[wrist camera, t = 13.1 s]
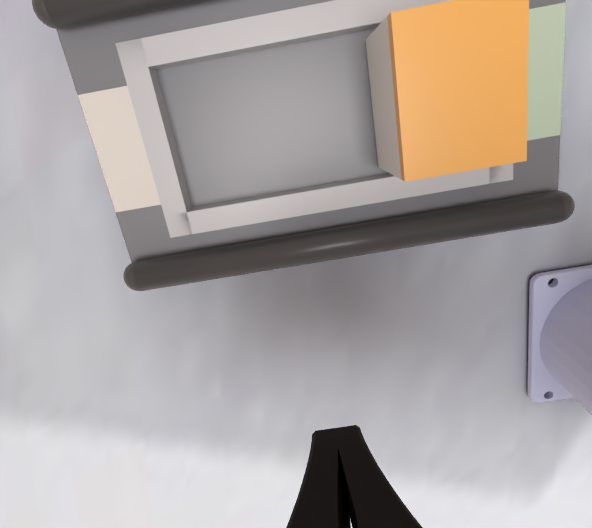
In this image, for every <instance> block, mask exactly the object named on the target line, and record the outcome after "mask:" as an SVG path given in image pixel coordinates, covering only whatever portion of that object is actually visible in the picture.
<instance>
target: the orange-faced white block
mask: <svg viewBox="0 0 592 528" xmlns="http://www.w3.org/2000/svg"><path fill="white" fill-rule="evenodd" d="M528 43H529V0H451V1H446V2H440V3H435V4H430V5H425V6H420V7H415V8H409V9H404V10H399V11H394V12H391V13H390V14H389V15H388V16H387V17H386V18H385V19H384V20H383V21H382V22H381V23H380V25H379V26H378V27H377V28H376V29H375V30H374V31H373V32H372V33H371V34H370V36H369V37H368V38H367V39H366V50H367V60H368V69H369V79H370V89H371V99H372V108H373V118H374V128H375V138H376V147H377V157H378V167H379V168H381V169H383V170H385V171H387V172H388V173H390V174H392V175H394V176H395V177H397V178H399V179H401V180H403V181H404V182H407V181H413V180H419V179H424V178H430V177H436V176H442V175H448V174H453V173H459V172H465V171H471V170H477V169H482V168H488V167H494V166H500V165H506V164H512V163H517V162H523V161H527V109H528Z"/></svg>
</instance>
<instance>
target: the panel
mask: <svg viewBox="0 0 592 528" xmlns="http://www.w3.org/2000/svg"><path fill="white" fill-rule="evenodd" d="M446 1H451V0H32V5H33V9H34V12H35V14H36V15H37V17H38V18H39V19H40V20H41V21H42V22H43V23H44V24H46V25H47V26H49V27H51V28H55V29H57V33H58V36H59V39H60V42H61V45H62V48H63V51H64V54H65V57H66V60H67V63H68V67H69V70H70V73H71V76H72V79H73V82H74V85H75V88H76V91H77V94H78V97H79V101H80V104H81V107H82V110H83V113H84V116H85V119H86V122H87V125H88V128H89V132H90V135H91V138H92V141H93V144H94V147H95V150H96V153H97V156H98V159H99V162H100V166H101V169H102V172H103V175H104V178H105V181H106V184H107V187H108V190H109V193H110V196H111V200H112V203H113V206H114V209H115V212H116V215H117V218H118V221H119V224H120V227H121V231H122V234H123V237H124V240H125V243H126V246H127V249H128V252H129V255H130V258H131V261H132V263H131V264H129V265H128V266H127V268H126V269H125V271H124V281H125V283H126V285H127V286H128V287H129V288H131V289H133V290H136V291H145V290H151V289H157V288H163V287H169V286H175V285H182V284H188V283H194V282H200V281H206V280H212V279H218V278H224V277H230V276H237V275H243V274H249V273H255V272H261V271H267V270H273V269H279V268H285V267H291V266H298V265H304V264H310V263H316V262H322V261H328V260H334V259H340V258H346V257H352V256H359V255H365V254H371V253H377V252H383V251H389V250H395V249H401V248H407V247H414V246H420V245H426V244H432V243H438V242H444V241H450V240H456V239H462V238H468V237H475V236H481V235H487V234H493V233H499V232H505V231H511V230H517V229H523V228H529V227H536V226H542V225H548V224H554V223H559V222H562V221H564V220H566V219H567V218H569V217H570V216H571V214H572V213H573V211H574V201H573V199H572V197H571V196H570V195H569V194H567V193H565V192H562V191H558V173H559V148H560V135H561V112H562V87H563V63H564V39H565V14H566V2H565V1H566V0H529V43H528V109H527V161H523V162H517V163H512V164H506V165H500V166H494V167H488V168H482V169H477V170H471V171H465V172H459V173H453V174H448V175H442V176H436V177H430V178H424V179H419V180H413V181H407V182H404V181H403V180H401V179H399V178H397V177H395V176H394V175H392V174H390V173H388V172H387V171H385V170H383V169H381V168H379V167H378V157H377V147H376V138H375V128H374V118H373V108H372V99H371V89H370V79H369V69H368V60H367V50H366V39H367V38H368V37H369V36H370V34H371V33H372V32H373V31H374V30H375V29H376V28H377V27H378V26H379V25H380V23H381V22H382V21H383V20H384V19H385V18H386V17H387V16H388V15H389V14H390V13H391V12H394V11H399V10H404V9H409V8H415V7H420V6H425V5H430V4H435V3H440V2H446Z"/></svg>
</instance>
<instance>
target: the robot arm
mask: <svg viewBox="0 0 592 528" xmlns="http://www.w3.org/2000/svg"><path fill="white" fill-rule="evenodd" d="M552 278H554V280H553V282H552V283H551V284H549V285H548V281H549V280H550V279H552ZM548 391H549V392H548ZM546 392H548V393H547V394H545V393H546ZM544 394H545V395H544ZM528 397H529V398H530V399H531V400H532V402H534V403H543V402H550V401H557V400H564V399H571V398H575V399H576V400H577V401H578V402H579V403H580V404H581V405H582V406H583V407H585V408H586V409H587V410H588V411H589V412H590V413H591V414H592V265H587V266H581V267H574V268H568V269H562V270H556V271H549V272H543V273H538V274H536V275H534V276H533V277H532V278H531V280H530V291H529V343H528ZM350 519H351V523H352V527H353V528H422V527H421V525H420V524H419V523H418V522H417V520H416V519H415V518H414V517H413V515H412V514H411V513H410V511H409V510H408V509H407V507H406V506H405V505H404V503H403V502H402V501H401V499H400V498H399V497H398V495H397V494H396V492H395V491H394V489H393V488H392V487H391V485H390V484H389V482H388V480H387V479H386V477H385V476H384V474H383V473H382V471H381V469H380V468H379V466H378V465H377V463H376V461H375V459H374V458H373V456H372V454H371V452H370V450H369V448H368V446H367V444H366V442H365V440H364V438H363V435H362V433H361V430H360V428H359V427H358V426H356V425H353V426H347V427H340V428H333V429H326V430H319V431H315V432H314V433H313V434H312V443H311V450H310V455H309V459H308V463H307V468H306V471H305V475H304V478H303V482H302V485H301V488H300V492H299V495H298V498H297V501H296V503H295V506H294V509H293V512H292V514H291V517H290V520H289V522H288V525H287V527H286V528H351V526H350Z"/></svg>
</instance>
